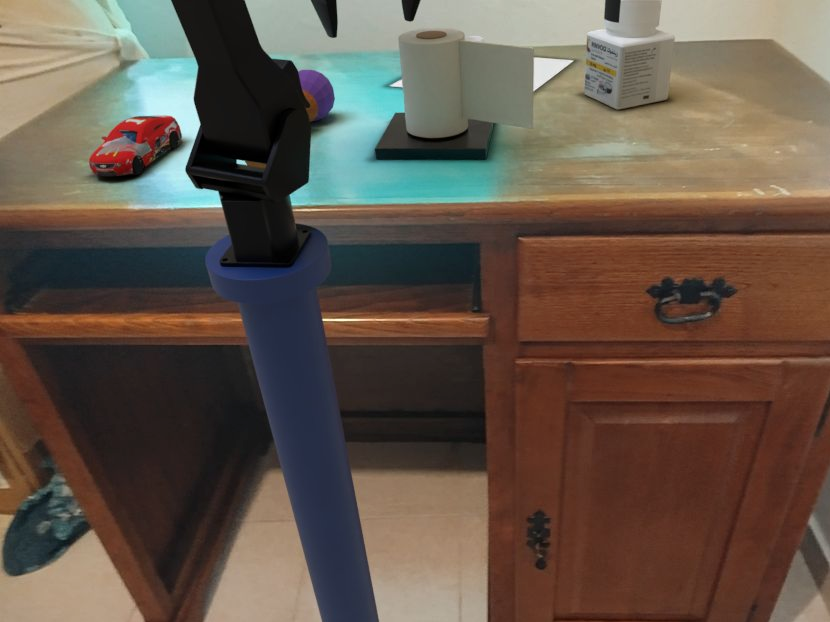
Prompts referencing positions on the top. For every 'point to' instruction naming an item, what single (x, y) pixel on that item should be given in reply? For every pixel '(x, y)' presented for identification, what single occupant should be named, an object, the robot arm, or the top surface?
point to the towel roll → (463, 82)
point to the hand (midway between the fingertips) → (372, 28)
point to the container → (629, 55)
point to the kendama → (313, 97)
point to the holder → (434, 142)
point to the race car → (135, 145)
